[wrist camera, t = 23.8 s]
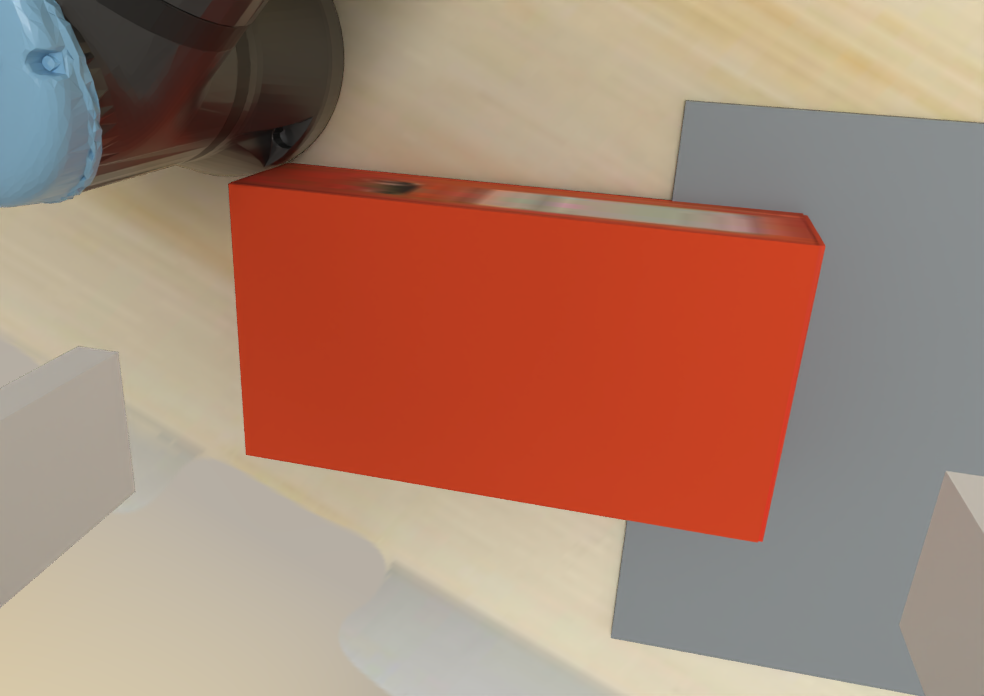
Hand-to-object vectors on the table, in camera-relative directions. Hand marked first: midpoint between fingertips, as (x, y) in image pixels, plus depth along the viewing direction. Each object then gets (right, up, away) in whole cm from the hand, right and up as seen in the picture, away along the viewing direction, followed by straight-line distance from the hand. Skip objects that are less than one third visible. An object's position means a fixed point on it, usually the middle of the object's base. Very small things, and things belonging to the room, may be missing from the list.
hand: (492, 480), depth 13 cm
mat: (+22, -3, +39) cm, 44 cm away
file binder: (+17, 0, +33) cm, 37 cm away
